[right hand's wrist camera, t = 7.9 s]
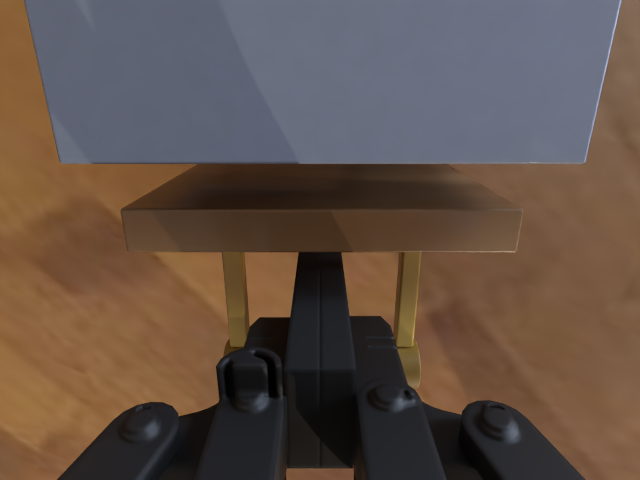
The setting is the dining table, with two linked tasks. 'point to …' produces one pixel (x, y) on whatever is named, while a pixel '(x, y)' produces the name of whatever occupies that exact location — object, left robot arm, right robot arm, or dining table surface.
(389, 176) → the drawer
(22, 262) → the dining table surface
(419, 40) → the pale lavender box
